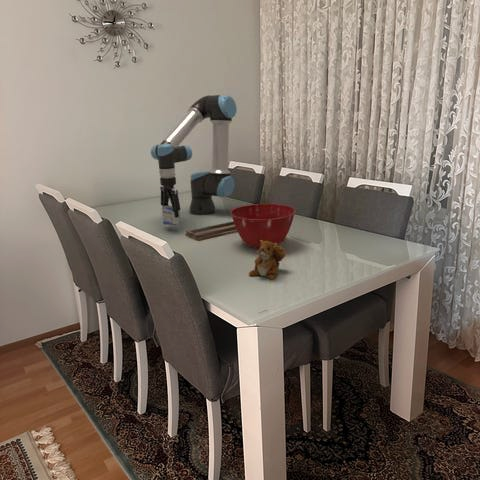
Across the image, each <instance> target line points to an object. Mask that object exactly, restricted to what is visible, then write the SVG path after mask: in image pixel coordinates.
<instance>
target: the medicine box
mask: <svg viewBox="0 0 480 480" xmlns="http://www.w3.org/2000/svg"><path fill="white" fill-rule="evenodd" d="M172 210H173V208H172V205H169V206H164V207H163V206H161V216H162V225H168V226H169V225H170V226H177V225H179V224H181V222H182V221H181V209H180V210H178V216H179V223H178V224H173V213H172Z"/></svg>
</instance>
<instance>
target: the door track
mask: <svg viewBox="0 0 480 480" xmlns="http://www.w3.org/2000/svg"><path fill="white" fill-rule="evenodd" d="M235 233H238V231H237V229H236V227H235V224H234V221H233V220H232V221H228V222H222V223H219V224H213V225H208V226H204V227H200V228H199V227H198V228H194V229H191V230H186V231H185V234H184V236H186V237H188V238H191V239H192V240H195V241H197V242H201V241H204V240H209V239H212V238H214V239H215V238H217V237H222V236H226V235H231V234H235Z"/></svg>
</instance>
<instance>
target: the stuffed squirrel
mask: <svg viewBox="0 0 480 480" xmlns="http://www.w3.org/2000/svg"><path fill="white" fill-rule="evenodd" d="M260 241H261V245H260V248H258V250H257V251H256V253H257V254H256V253H255V254H256V255H259V256H257V257H256V258H255V260H254V268H253V270H250V271H249V273H248V276H249V277H254V276H261V277H267V278H268V279H269V280H272V281H273V280H275V279H276V278H277V277H278V269H279V268H280V264H281V263H280V262H282V261H283V260H284V259H285V257H287V255H286V254H287V253H286V249H285V248H284V247H283V246H281V245H277V243H272V242H270V241H263V240H260ZM276 245H277V246H276Z"/></svg>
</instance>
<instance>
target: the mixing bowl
mask: <svg viewBox="0 0 480 480" xmlns="http://www.w3.org/2000/svg"><path fill="white" fill-rule="evenodd" d="M295 214H296V209H295V208H294V207H292V206H289V205H285V204H279V203H254V204H247V205H243V206H242V205H241V206H238V207H235V208H233V209H231V210H230V215H231V217H232V221H234V224H235V227H236V229H237V231H238V232H237V233H238V235H239V237H240V239H241V241H242V242H244V244H246V245H247V246H250V247H251V248H254V249H260V245H261V241H260V240H263V241H270V242H272V243H277V245H276V246H279V245H280V244H282V243H283V242H284V241H285V239H286V237H287V236H288V234H289V231H290V230H291V229H290V228H291V226H292V224H293V221H294V216H295Z"/></svg>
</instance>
